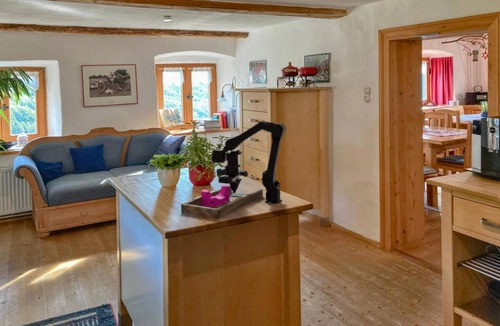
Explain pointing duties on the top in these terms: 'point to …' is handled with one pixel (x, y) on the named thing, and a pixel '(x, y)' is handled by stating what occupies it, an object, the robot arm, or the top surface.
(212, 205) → the toy block
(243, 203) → the wooden tray
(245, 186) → the top surface
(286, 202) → the top surface
